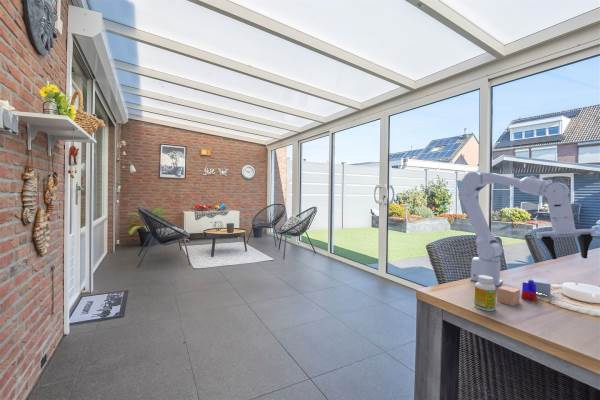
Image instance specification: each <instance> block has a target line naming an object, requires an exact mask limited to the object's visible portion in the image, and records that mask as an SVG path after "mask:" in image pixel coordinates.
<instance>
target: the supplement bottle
mask: <svg viewBox="0 0 600 400" xmlns="http://www.w3.org/2000/svg"><path fill="white" fill-rule="evenodd" d="M478 281H479V282H478ZM478 281H475V284H474V285H475V286H474V300H473V301H474V304H473V305H474V306H475V308H477V309H478V308H479V310H481V309H482V310H481V311H485V310H486V312H494V311H495V309H496V298H497V287H496V285H493V284H492V283H493V277H491V276H487V275H479V276H478Z"/></svg>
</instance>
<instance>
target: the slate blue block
mask: <svg viewBox="0 0 600 400" xmlns="http://www.w3.org/2000/svg"><path fill="white" fill-rule="evenodd" d="M531 280H532V281H534V284H536V292H538V293H542V294H545V295H547V296H546V297H548V296H550V297H551V287H552V286H551V285H552V284H551V283H550V282H549V280H548V279H547V280H546V279H539V278H533V277H532V278H531Z"/></svg>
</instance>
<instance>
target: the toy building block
mask: <svg viewBox="0 0 600 400" xmlns="http://www.w3.org/2000/svg"><path fill="white" fill-rule="evenodd" d="M521 286H522V289H521V299H524V300H529V301H534V302H535V301H536V300H537V299H536V298H537V295H536V284H534V281H532V279H529V280H528V282H524V281H523V282H522V285H521Z"/></svg>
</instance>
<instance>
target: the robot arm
mask: <svg viewBox="0 0 600 400" xmlns="http://www.w3.org/2000/svg"><path fill="white" fill-rule="evenodd" d="M460 181H461V189H460V190H461V191H460V199H461V201H462V204H463V206H464V208H465V212H466V213H467V214H466V215H467V216H468V218H469V219H468V220H469V221H470V224H471V227H472V229H473V232H474V233H475V237H476V238H475V239H476V240H475V243H476V254H477V255H478V256H477V257H476V256H474V257H472V260H471V264H470V265H471V266H470V278H469V280H470V281H474V282H479V281H478V276H479V275H487V276H491V277H493V283H492V284H493V285H495V286H500V285H501V283H503V279H501V258H500V256H501V255H502V254H503V251H504V248H503V246H502V244H501V243H500V242H499V241H498V240H497V238H496V237H495V236H494V234H493V233H492V232H491V230H490V227H489V224H488V222H487V219H486V218H485V215H484V213H483V211H482V208H481V206H480V203H479V200H478V198H477V196H478V195H479V193H480V192H481V190H483V189H484V188H485V187H486V186H487V185H492V184H500V185H503V186H504V185H505V186H509V187H515V188H518V190H519V192H521V193H525V194H529V195H534V196H539V197H545V198H546V199H547V204H548V205H547V208H548V212H549V217H550V223H551V228H552V230H550V231H548V230H547V231H538V232H537V231H536V233H535V234H536V238H537V239H540V241H542V243H543V245H545V248H547V250H548V252H549V254H550V256H551V259H552V260H557V254H556V251H555V239H553V238H564V237H565V238H566V237H576V238H577V242H578V244H579V249H580V257H581V258H583V259H588V251H589V248H590V245H591V243H592V241H593V236H596V229H595V228H582V229H576V225H575V224H576V223H575V220H574V214H573V210H572V209H573V208H572V203H571V202H570V197H569V194H570V188H569V187H568V186H567V184H565V183H562V182H560V181H559V182H558V181H557V182H553V180H552V179H548V180H545V179H541V178H538V177H536V176H534V175H530V176H525V177H523V178H517V177H513V176H507V175H504V174H499V173H495V172H480V171H479V172H477V171H468V172H466V174H465V175H464V176H463V178H462V179H461V180H460Z"/></svg>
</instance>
